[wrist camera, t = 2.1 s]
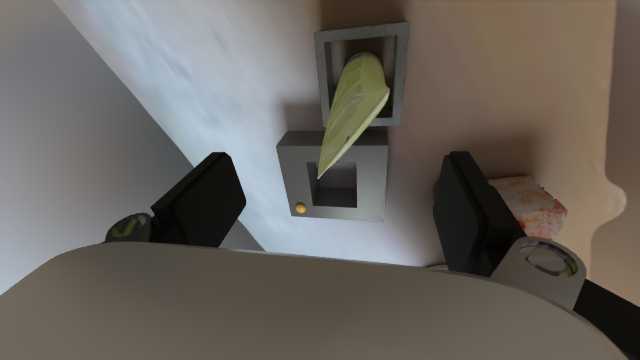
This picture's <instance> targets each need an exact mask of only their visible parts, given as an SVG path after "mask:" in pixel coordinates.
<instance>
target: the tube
mask: <svg viewBox="0 0 640 360" xmlns="http://www.w3.org/2000/svg"><path fill="white" fill-rule="evenodd" d="M389 93H390V89H389V88H388V87H387V86H386V84H385V79H384V73H383V67H382V64H381V61H380V60H379V59H378V57H377V56H375V55H374V54H372V53H369V52H361V53H358V54H355V55H354V56H352V57H351V58H350V59H349V60H348V62H347V63H346V65H345V67H344V70H343V72H342V75H341V77H340V80H339V83H338V86H337V89H336V93H335V96H334V100H333V103H332V107H331V111H330V115H329V118H328V123H327V127H326V131H325V135H324V140H323V145H322V150H321V155H320V160H319V167H318V177H317V179H319V178H320V177H321V176H322V174H323V173H324V172H325V171H326V170H327V169H328V168H330V167H331V166H332V165H333V164H334V163H335V162H336V161H337V160H338V159H339V158H340V157H341V156H342V155H343V154H344V153H345V152H346V151H347V150H348V149H349V147H350V146H351V145H352V144H353V143H354V142H355V140H356V139H357V138H358V137H359V136H360V135H361V133H362V132H363V131H364V130H365V129H366V128H367V126H368V125H369V124H370V123H371V122H372V120H373V119H374V118H375V117H376V116H377V114H378V113H379V112H380V111H381V109H382V108H383V106H384V105H385V103H386V101H387V99H388V96H389Z"/></svg>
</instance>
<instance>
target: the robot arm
mask: <svg viewBox="0 0 640 360" xmlns="http://www.w3.org/2000/svg"><path fill="white" fill-rule="evenodd" d="M245 206H246V198H245V195H244V192H243V189H242V187H241V184H240V181H239V178H238V176H237V173H236V170H235V167H234V164H233V162H232V159H231V157H230V156H229V155H228V154H227V153H225V152H212V153H211V154H210V155H209V156H207V157H206V158H205V159H204V160H203V161H202V162H201V163H200V164H198V165H197V166H196V167H195V168H194V169H193V170H192V171H191V172H189V173H188V174H187V175H186V176H185V177H184V178H183V179H182V180H181V181H179V182H178V183H177V184H176V185H175V186H174V187H173V188H172V189H170V190H169V191H168V192H167V193H166V194H165V195H164V196H163V197H161V198H160V199H159V200H158V201H157V202H156V203H155V204H154V205H152V206H151V209H152V211H153V212H154V214H155V215H154V216H153V217H151V216H150V215H149V214H147V213H137V214H133V215H130V216H128V217H125V218H123V219H121V220H120V221H118V222H117V223H115V224H114V225H113V226H112V227H111V228H110V229H109V230H108V232H107V234H106V238H105V241H104V242H102V243H99V244H94V245H90V246H86V247H81V248H77V249H74V250H71V251H68V252H65V253H63V254H60V255H58V256H56V257H54V258H52V259H50V260H49V261H47V262H46V263H44V264H43V265H41V266H40V267H38V268H37V269H35V270H34V271H33V272H31V273H30V274H29V275H27V276H26V277H24V278H23V279H22V280H20V281H19V282H18V283H16V284H15V285H14V286H12V287H11V288H10V289H9V290H7V291H6V292H4V293H3V294H2V295H0V360H640V307H638V306H636V305H634V304H633V303H631V302H629V301H627V300H625V299H623V298H621V297H619V296H618V295H616V294H614V293H612V292H610V291H608V290H606V289H604V288H602V287H601V286H598V285H597V284H595V283H593V282H591V281H589V280H587V279H585V278H586V270H587V269H586V267H585V265H584V263H583V261H582V260H581V259H580V258H579V257H578V256H577V255H576V254H575V253H573V252H572V251H571V250H569V249H568V248H566V247H565V246H563V245H561V244H559V243H557V242H554V241H551V240H549V239H546V238H541V237H536V236H527V234H526V233H525V231H524V230H523V228H522V227H521V225H520V224H519V222H518V221H517V219H516V218H515V216H514V215H513V213H512V212H511V210H510V209H509V207H508V206H507V204H506V203H505V201H504V200H503V198H502V197H501V195H500V194H499V192H498V191H497V189H496V188H495V187H494V186H492V185H490V184H489V183H488V181H487V180H486V178H485V176H484V175H483V173H482V172H481V170H480V169H479V167H478V166H477V164H476V162H475V161H474V159H473V158H472V156H471V155H470V153H469V152H468V151H452V152H450V154H449V155H445V157H444V160H443V164H442V169H441V174H440V178H439V183H438V188H437V192H436V197H435V201H434V206H433V216H434V219H435V223H436V227H437V230H438V234H439V237H440V241H441V245H442V248H443V252H444V255H445V259H446V262H447V265H436V266H432V267H428V268H425V267H416V266H406V265H397V264H388V263H378V262H368V261H357V260H347V259H337V258H326V257H316V256H305V255H294V254H283V253H272V252H260V251H250V250H239V249H227V248H218V247H219V246H220V244H221V243H222V241H223V240H224V238H225V236H226V235H227V233H228V232H229V230H230V229H231V227H232V226H233V224H234V223H235V221H236V220H237V218H238V217H239V215H240V214H241V212H242V210H243V209H244V207H245Z"/></svg>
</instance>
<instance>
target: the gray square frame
mask: <svg viewBox="0 0 640 360" xmlns="http://www.w3.org/2000/svg"><path fill="white" fill-rule="evenodd" d="M408 34H409V22H408V21H399V22H390V23H381V24H372V25H363V26H354V27H345V28H336V29H327V30H320V31H317V32H314V38H315V48H316V58H317V68H318V79H319V89H320V99H321V109H322V119H323V127H327V123H328V118H329V115H330V111H331V107H332V103H333V100H334V92H333V77H332V62H331V47H330V42H332V41H342V40H352V39H362V38H372V37H382V36H392V35H395V49H394V65H393V81H392V97H391V107H383V108H382V109H381V111H380V112H379V113H378V114H377V116H376V117H375V118H374V119H373V120H372V122H371V123H370V124H369V125H368V126H398V125H400V124H401V113H402V101H403V90H404V79H405V67H406V56H407V45H408Z"/></svg>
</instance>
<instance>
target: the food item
mask: <svg viewBox="0 0 640 360" xmlns="http://www.w3.org/2000/svg"><path fill="white" fill-rule="evenodd" d="M486 180H487V181H488V183H489V184H490V185H492V186H494V187H495V188H496V189H497V191H498V192H499V194H500V195H501V197H502V198H503V200H504V201H505V203H506V204H507V206H508V207H509V209H510V210H511V212H512V213H513V215H514V216H515V218H516V219H517V221H518V222H519V224H520V225H521V227H522V228H523V230H524V231H525V233H526V234H527V236H536V237H541V238H546V239H549V240H553V239H555V238H556V237H557V236H558V235H559V232H560V230H561V229H562V228H563V223H564V220H565V217H566V214H567V209H566V208H565V207H564V206H563V205H562V204H561V203H560V202H559V201H558V200H557V199H554V198H553V197H552V196H551V195H550V194H549V193H548V192H546V191H545V190H544V187H540V185H539V184H537V183H536V182H535V181H534V180H533V179H532V178H531V177H530V176H529V175H522V176H516V177H504V178H498V179H486ZM437 188H438V184H436V185H434V188H433V195H434V201H435V197H436V192H437Z"/></svg>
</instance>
